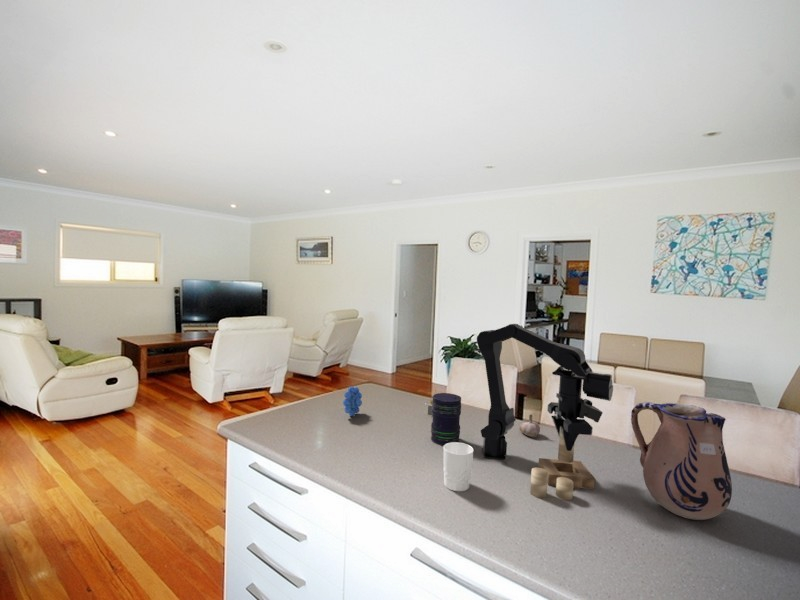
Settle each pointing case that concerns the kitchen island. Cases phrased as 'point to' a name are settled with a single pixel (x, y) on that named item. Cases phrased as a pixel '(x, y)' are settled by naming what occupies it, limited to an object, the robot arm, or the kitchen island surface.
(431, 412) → the platform
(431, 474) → the kitchen island surface
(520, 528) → the kitchen island surface
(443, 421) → the storage jar
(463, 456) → the white cup
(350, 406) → the grapes
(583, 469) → the collar block
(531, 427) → the garlic bulb
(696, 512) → the ceramic pitcher
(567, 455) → the long dowel
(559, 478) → the stub dowel
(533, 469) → the medium dowel
